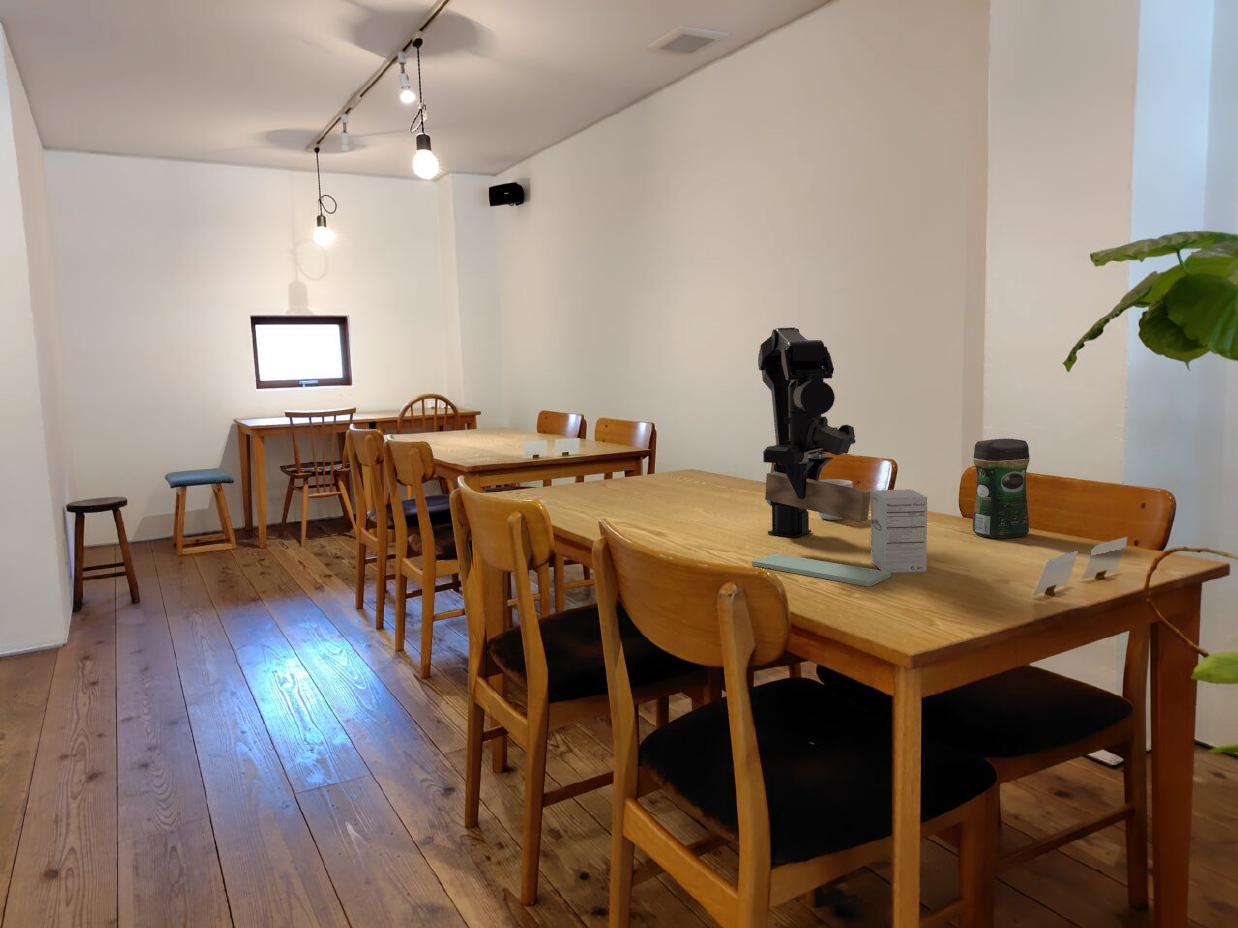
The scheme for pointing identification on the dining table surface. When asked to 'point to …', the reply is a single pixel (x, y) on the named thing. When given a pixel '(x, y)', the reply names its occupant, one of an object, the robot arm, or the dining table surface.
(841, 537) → the dining table surface
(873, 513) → the supplement box
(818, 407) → the robot arm
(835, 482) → the cup
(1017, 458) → the coffee jar
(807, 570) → the tool mat
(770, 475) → the wooden plank
